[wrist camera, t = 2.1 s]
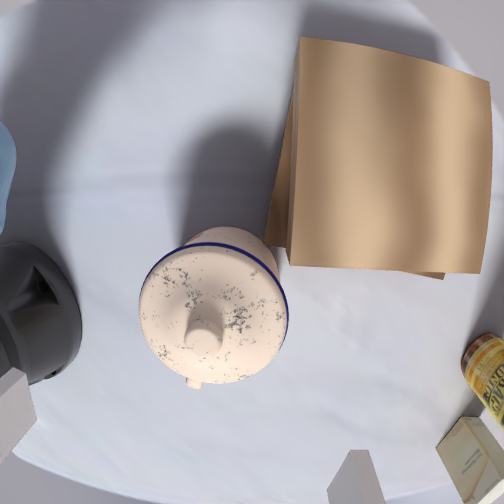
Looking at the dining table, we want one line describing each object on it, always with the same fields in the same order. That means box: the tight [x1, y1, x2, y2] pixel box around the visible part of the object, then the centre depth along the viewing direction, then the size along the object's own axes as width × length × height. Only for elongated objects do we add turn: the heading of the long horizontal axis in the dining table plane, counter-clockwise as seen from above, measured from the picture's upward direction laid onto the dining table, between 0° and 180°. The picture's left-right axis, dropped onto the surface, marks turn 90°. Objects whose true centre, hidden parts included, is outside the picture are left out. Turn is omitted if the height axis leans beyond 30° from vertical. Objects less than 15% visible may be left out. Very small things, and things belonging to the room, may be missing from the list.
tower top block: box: [286, 37, 493, 274], centre depth 19 cm, size 14×14×4 cm
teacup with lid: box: [139, 227, 289, 389], centre depth 22 cm, size 12×9×12 cm
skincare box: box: [436, 416, 504, 504], centre depth 25 cm, size 6×4×12 cm
